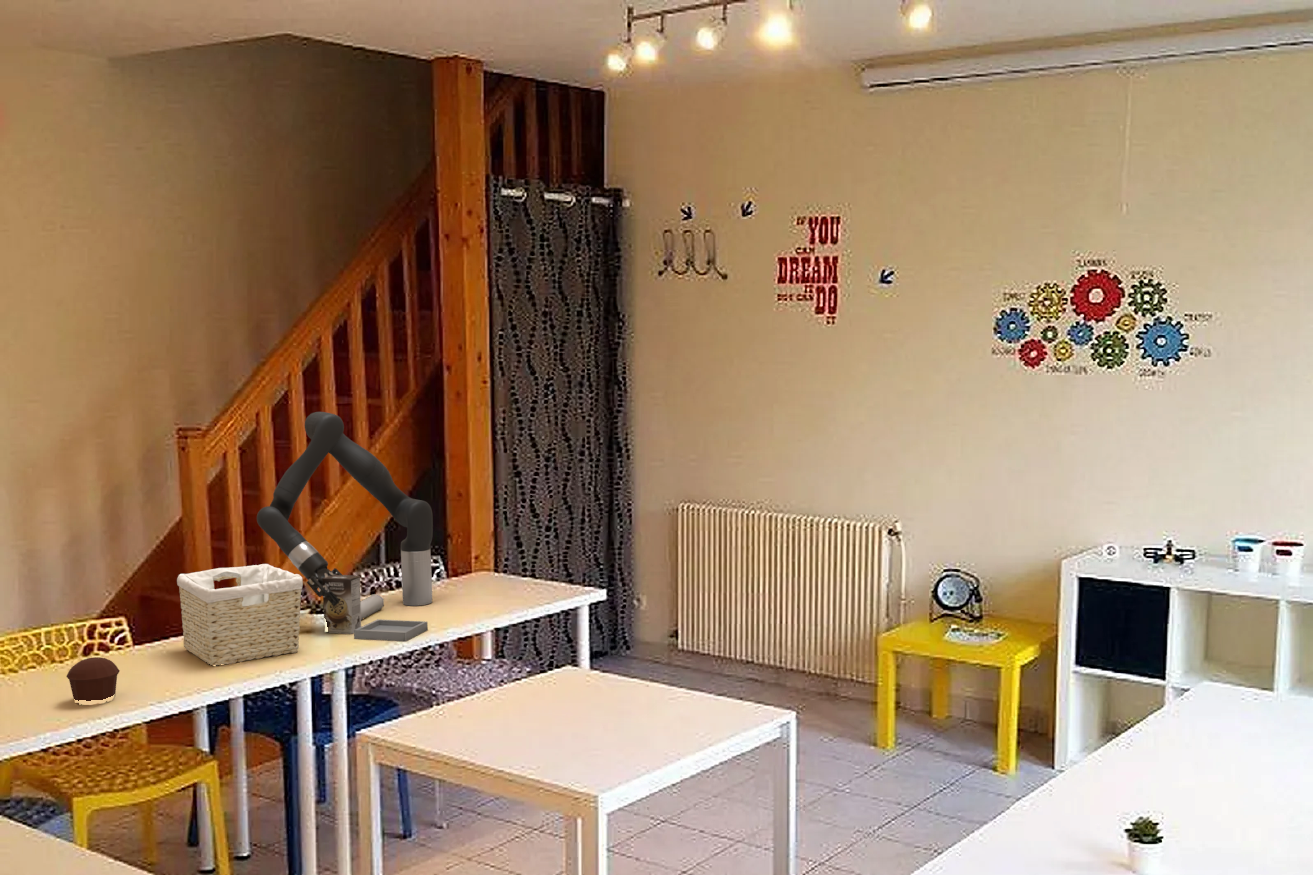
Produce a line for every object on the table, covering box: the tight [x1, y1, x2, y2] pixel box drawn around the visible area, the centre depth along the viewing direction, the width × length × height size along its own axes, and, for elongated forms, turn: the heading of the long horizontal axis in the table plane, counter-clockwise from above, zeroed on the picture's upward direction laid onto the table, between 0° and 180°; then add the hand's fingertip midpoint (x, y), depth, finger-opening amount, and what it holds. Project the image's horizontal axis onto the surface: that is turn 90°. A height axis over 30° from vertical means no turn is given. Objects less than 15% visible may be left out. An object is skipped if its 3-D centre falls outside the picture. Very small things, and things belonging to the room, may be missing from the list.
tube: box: [360, 593, 385, 621], centre depth 397 cm, size 5×5×25 cm
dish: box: [353, 618, 429, 642], centre depth 375 cm, size 14×16×2 cm
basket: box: [176, 563, 303, 666], centre depth 358 cm, size 27×27×22 cm
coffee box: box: [322, 574, 362, 635], centre depth 380 cm, size 9×6×16 cm
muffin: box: [65, 656, 121, 701], centre depth 313 cm, size 12×11×10 cm
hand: (344, 600), depth 380 cm, fingers open, 8 cm apart
